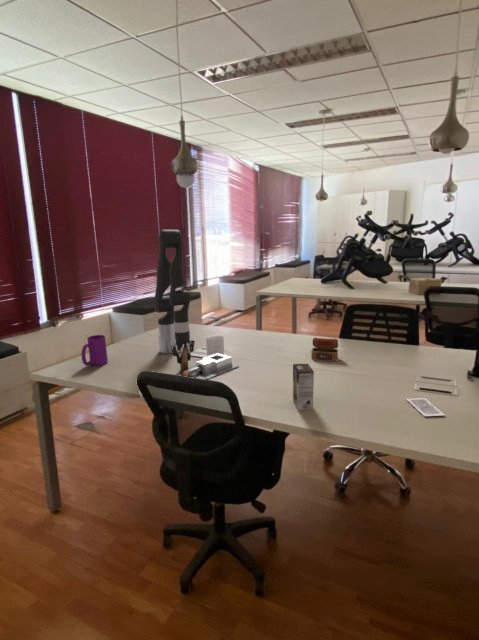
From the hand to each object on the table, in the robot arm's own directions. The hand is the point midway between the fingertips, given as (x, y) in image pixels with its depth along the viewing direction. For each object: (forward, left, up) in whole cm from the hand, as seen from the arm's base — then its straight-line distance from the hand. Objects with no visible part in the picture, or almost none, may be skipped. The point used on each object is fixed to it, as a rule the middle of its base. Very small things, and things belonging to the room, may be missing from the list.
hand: (184, 361), depth 199 cm
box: (+47, +58, -5) cm, 75 cm away
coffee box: (+70, +4, -4) cm, 70 cm away
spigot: (0, 0, -4) cm, 4 cm away
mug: (-43, -27, -4) cm, 51 cm away
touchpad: (+108, +32, -5) cm, 112 cm away
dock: (+11, +8, -4) cm, 14 cm away
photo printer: (-3, +25, -4) cm, 26 cm away
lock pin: (+11, -2, -3) cm, 11 cm away
